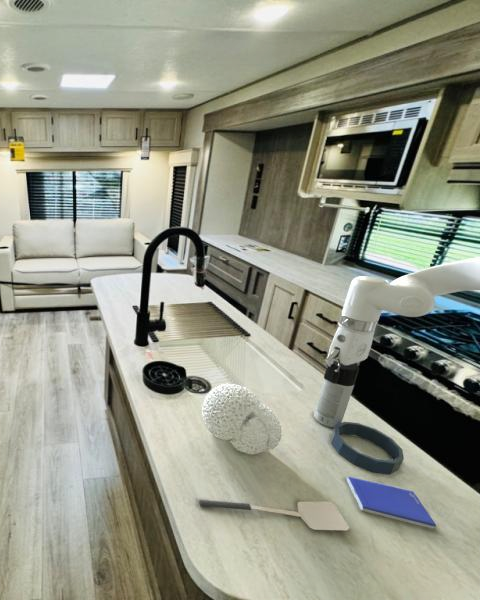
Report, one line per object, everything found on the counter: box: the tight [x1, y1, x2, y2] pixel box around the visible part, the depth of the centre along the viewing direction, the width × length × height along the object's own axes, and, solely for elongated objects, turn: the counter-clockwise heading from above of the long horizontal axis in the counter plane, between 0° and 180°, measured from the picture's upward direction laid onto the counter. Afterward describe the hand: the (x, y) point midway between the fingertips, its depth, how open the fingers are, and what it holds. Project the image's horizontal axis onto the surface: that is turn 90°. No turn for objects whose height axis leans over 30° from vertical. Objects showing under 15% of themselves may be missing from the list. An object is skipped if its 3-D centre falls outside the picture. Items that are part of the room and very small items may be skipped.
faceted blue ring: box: [330, 421, 405, 476], centre depth 83 cm, size 14×14×4 cm
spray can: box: [313, 358, 360, 428], centre depth 91 cm, size 7×7×20 cm
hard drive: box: [346, 476, 437, 530], centre depth 71 cm, size 2×8×12 cm
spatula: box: [198, 499, 350, 532], centre depth 69 cm, size 6×29×2 cm, turn 82°
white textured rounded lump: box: [201, 383, 283, 455], centre depth 88 cm, size 20×18×16 cm
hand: (338, 377), depth 90 cm, fingers closed on spray can, 6 cm apart
